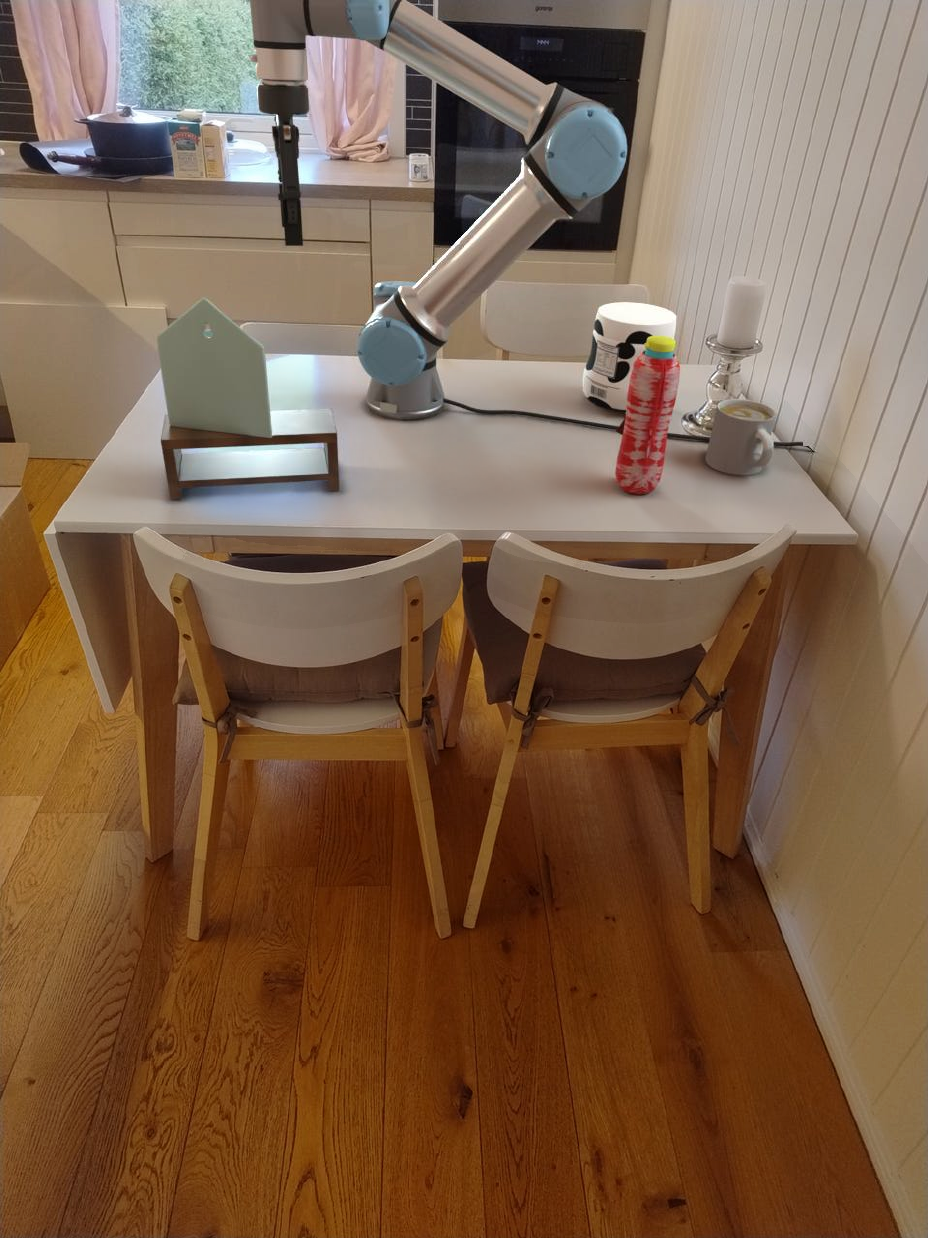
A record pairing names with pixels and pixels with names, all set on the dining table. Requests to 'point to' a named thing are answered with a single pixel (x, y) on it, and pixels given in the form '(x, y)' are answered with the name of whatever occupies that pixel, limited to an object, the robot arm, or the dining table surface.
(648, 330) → the milk container
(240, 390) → the planter
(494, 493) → the dining table surface
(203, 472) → the shelf
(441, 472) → the dining table surface
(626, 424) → the water bottle
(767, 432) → the coffee mug
